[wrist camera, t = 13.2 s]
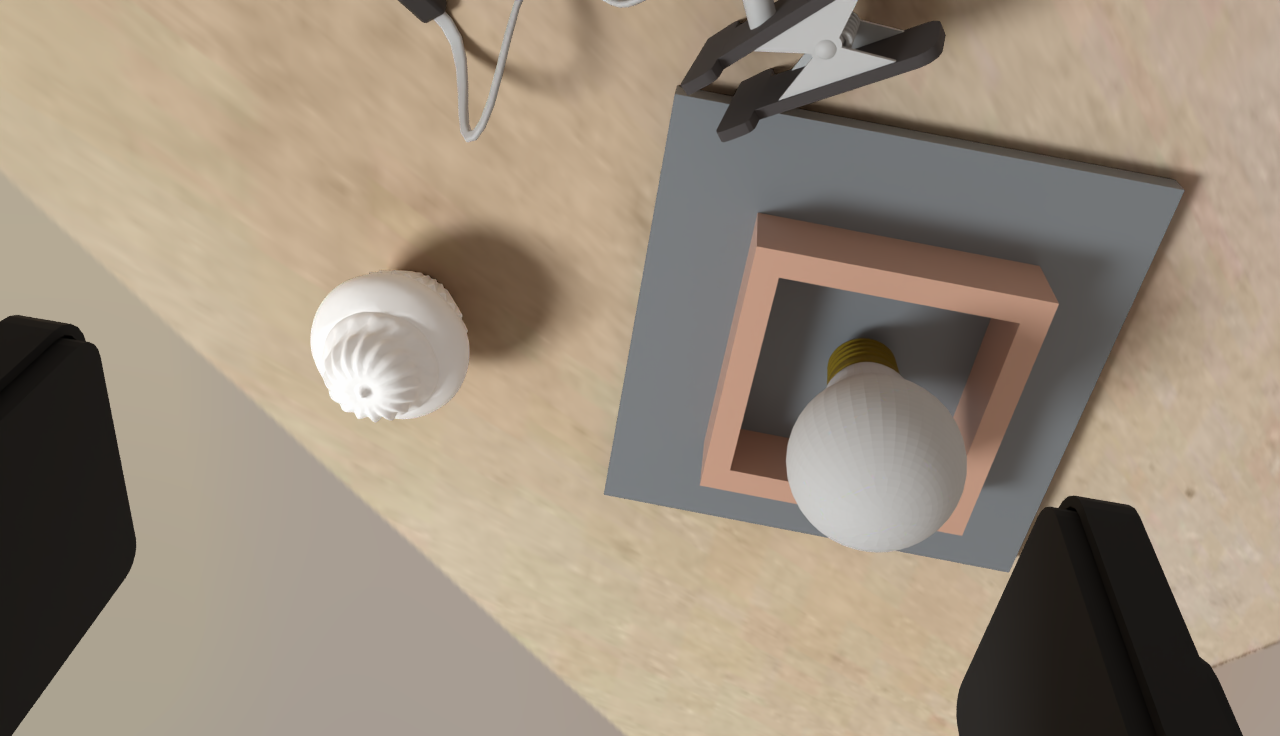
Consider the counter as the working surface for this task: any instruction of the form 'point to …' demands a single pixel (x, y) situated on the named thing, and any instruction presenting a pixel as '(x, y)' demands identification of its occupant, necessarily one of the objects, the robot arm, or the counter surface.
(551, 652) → the counter surface
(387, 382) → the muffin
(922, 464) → the light bulb
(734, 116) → the clip-on lamp
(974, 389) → the holder board
